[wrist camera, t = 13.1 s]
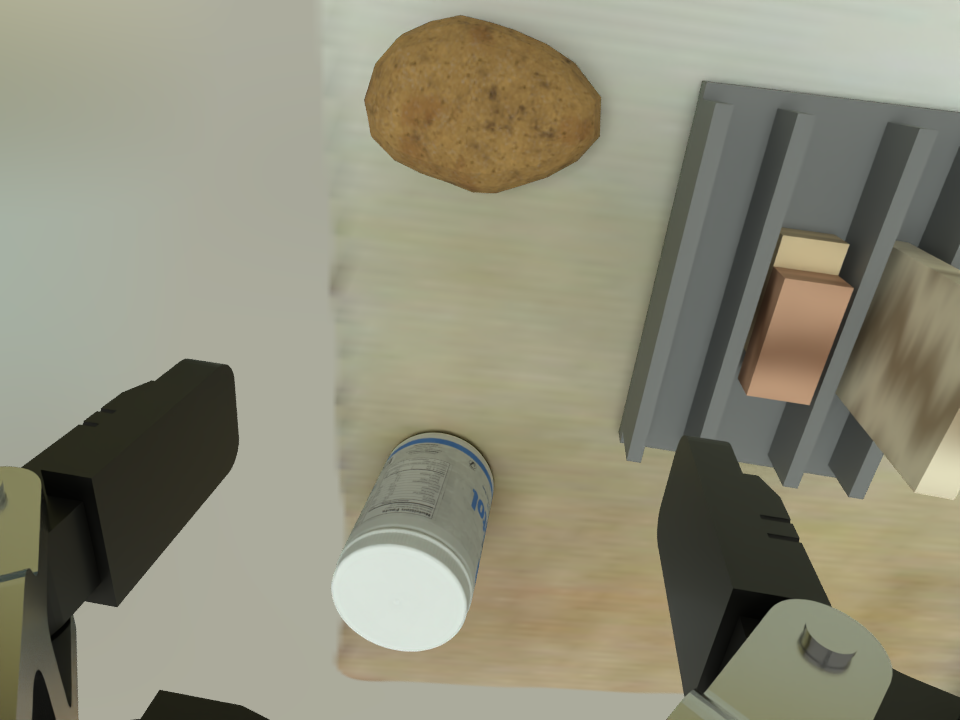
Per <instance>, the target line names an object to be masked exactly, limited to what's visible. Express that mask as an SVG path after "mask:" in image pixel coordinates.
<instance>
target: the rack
mask: <svg viewBox="0 0 960 720" xmlns="http://www.w3.org/2000/svg"><path fill="white" fill-rule="evenodd" d="M781 228H790V229H797V230H804V231H812V232H819V233H826V234H834V235H836V236H837V237H839V238H841V239H842V240H844V241H845V242H847V243H848V244H850V245H849V247H848V250H847V253H846V256H845V258H844V261H843V264H842V267H841V269H840V272H839V275H838V276H839V277H841V278H842V279H843V280H844V281H846V282H847V283H848V284H849V285H851V286H852V287H853V288H854V289H853V292H852V294H851V297H850V300H849V302H848V305H847V308H846V310H845V313H844V316H843V318H842V321H841V323H840V326H839V329H838V331H837V334H836V337H835V339H834V342H833V345H832V347H831V350H830V352H829V355H828V358H827V360H826V363H825V366H824V368H823V371H822V373H821V376H820V379H819V381H818V384H817V387H816V389H815V392H814V395H813V397H812V400H811V402H810V405H805V404H799V403H792V402H786V401H779V400H773V399H766V398H760V397H754V396H747V395H746V393H745V391H744V390H743V388H742V386H741V384H740V382H739V380H738V376H739V373H740V369H741V366H742V363H743V360H744V357H745V354H746V351H745V350H744V345H745V342H746V339H747V336H748V332H749V329H750V326H751V323H752V320H753V317H754V313H755V310H756V307H757V304H758V301H759V298H760V294H761V291H762V288H763V285H764V282H765V279H766V275H767V272H768V269H769V266H770V263H771V259H772V256H773V253H774V250H775V247H776V244H777V240H778V237H779V234H780V231H781ZM895 241H902V242H908V243H910V244H912V245H914V246H916V247H918V248H920V249H921V250H923V251H925V252H927V253H929V254H931V255H933V256H934V257H936V258H938V259H940V260H942V261H944V262H946V263H948V264H949V265H951V266H953V267H955V268H957V269H959V270H960V112H952V111H944V110H936V109H928V108H919V107H911V106H903V105H895V104H887V103H879V102H870V101H862V100H854V99H846V98H838V97H830V96H821V95H813V94H805V93H797V92H789V91H781V90H772V89H764V88H756V87H748V86H740V85H732V84H723V83H715V82H707V81H702V85H701V90H700V94H699V98H698V102H697V106H696V111H695V115H694V119H693V123H692V127H691V132H690V136H689V140H688V144H687V148H686V153H685V157H684V161H683V165H682V169H681V174H680V178H679V182H678V186H677V190H676V195H675V199H674V203H673V207H672V211H671V216H670V220H669V224H668V228H667V232H666V237H665V241H664V245H663V249H662V253H661V258H660V262H659V266H658V270H657V274H656V279H655V283H654V287H653V291H652V295H651V300H650V304H649V308H648V312H647V316H646V321H645V325H644V329H643V333H642V337H641V342H640V346H639V350H638V354H637V358H636V363H635V367H634V371H633V375H632V379H631V384H630V388H629V392H628V396H627V400H626V405H625V409H624V413H623V417H622V421H621V426H620V430H619V438H620V443H624V445H625V452H626V459H627V461H633V462H639V463H641V459H642V456H643V452H644V448H645V447H650V448H657V449H663V450H669V451H675V452H676V449H677V446H678V443H679V441H680V439H681V437H682V436H684V435H686V436H693V437H700V438H706V439H713V440H719V441H726V442H729V443H730V444H731V446H732V449H733V451H734V454H735V456H736V459H737V461H738V462H743V463H749V464H755V465H761V466H767V467H773V468H774V469H775V471H776V473H777V475H778V477H779V479H780V481H781V483H782V485H783V486H785V487H791V488H798V486H799V483H800V481H801V478H802V476H803V473H810V474H816V475H822V476H829V477H835V478H837V480H838V481H839V483H840V484H841V486H842V488H843V489H844V491H845V492H846V494H847V495H848V497H852V498H858V499H864V496H865V494H866V492H867V490H868V488H869V485H870V483H871V481H872V479H873V476H874V474H875V472H876V470H877V468H878V465H879V463H880V461H881V459H882V457H883V453H882V451H881V450H880V449H879V448H878V446H877V445H876V444H875V442H874V441H873V440H872V439H871V437H870V436H869V435H868V434H867V432H866V431H865V430H864V429H863V427H862V426H861V425H860V424H859V422H858V421H857V420H856V419H855V417H854V416H853V415H852V414H851V412H850V411H849V410H848V409H847V407H846V406H845V405H844V404H843V402H842V401H841V400H840V399H839V397H838V396H837V395H836V394H835V392H836V390H837V387H838V385H839V382H840V380H841V377H842V375H843V372H844V370H845V367H846V365H847V362H848V360H849V357H850V354H851V352H852V349H853V347H854V344H855V342H856V339H857V337H858V334H859V332H860V329H861V327H862V324H863V322H864V319H865V317H866V314H867V311H868V309H869V306H870V304H871V301H872V299H873V296H874V294H875V291H876V289H877V286H878V284H879V281H880V279H881V276H882V274H883V271H884V269H885V266H886V263H887V261H888V258H889V256H890V253H891V251H892V248H893V246H894V243H895Z"/></svg>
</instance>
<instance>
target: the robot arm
mask: <svg viewBox="0 0 960 720" xmlns="http://www.w3.org/2000/svg"><path fill="white" fill-rule="evenodd" d="M235 395H236V394H235V382H234V374H233V371H232V369H231V368H230V367H229V366H228V365H225V364H219V363H212V362H206V361H199V360H193V359H184V360H182V361H180V362H179V363H178V364H176V365H175V366H174V367H172V368H171V369H170V370H169V371H167V372H166V373H165V374H163V375H162V376H161V377H159V378H158V379H157V380H156V381H150V382H147V383H144V384H142V385H139V386H137V387H135V388H132V389H130V390H127V391H125V392H122V393H121V394H120V395H118V396H117V397H116V398H114V399H113V400H111V401H110V402H109V403H107V404H106V405H105V406H103V407H102V408H101V411H100V412H98V411H97V412H95V413H94V414H93V415H91V416H90V417H89V418H87V419H86V420H85V421H84V423H83V425H78V426H76V427H75V428H74V429H72V430H71V431H70V432H68V433H67V434H66V435H65V436H63V437H62V438H61V439H59V440H58V441H56V442H55V443H54V444H52V445H51V446H50V447H48V448H47V449H46V450H44V451H43V452H42V453H40V454H39V455H37V456H36V457H35V458H33V459H32V460H31V461H29V462H28V463H27V464H25V465H24V466H23V467H21V468H20V467H10V466H1V467H0V720H79V719H78V678H77V641H76V625H75V620H74V616H73V614H74V612H75V611H76V610H77V609H78V608H79V607H80V606H81V605H82V604H83V602H84V601H87V602H92V603H98V604H103V605H108V606H114V607H118V606H119V604H120V603H121V602H122V601H123V600H124V598H125V597H126V596H127V595H128V594H129V592H130V591H131V590H132V589H133V588H134V586H135V585H136V584H137V583H138V581H139V580H140V579H141V578H142V576H143V575H144V574H145V573H146V572H147V570H148V569H149V568H150V567H151V566H152V565H153V563H154V562H155V561H156V560H157V559H158V557H159V556H160V555H161V554H162V553H163V551H164V550H165V549H166V548H167V546H168V545H169V544H170V543H171V542H172V540H173V539H174V538H175V537H176V536H177V534H178V533H179V532H180V531H181V530H182V528H183V527H184V526H185V525H186V524H187V522H188V521H189V520H190V519H191V518H192V516H193V515H194V514H195V512H196V511H197V510H198V509H199V508H200V507H201V505H202V504H203V503H204V502H205V501H206V500H207V498H208V497H209V496H210V495H211V494H212V492H213V491H214V490H215V489H216V487H217V486H218V485H219V484H220V483H221V481H222V480H223V479H224V478H225V477H226V475H227V474H228V473H229V472H230V470H231V468H232V466H233V464H234V462H235V459H236V455H237V451H238V445H239V435H238V422H237V408H236V396H235ZM790 520H791V519H790V517H789V515H788V513H787V511H786V509H785V507H784V504H783V502H782V500H781V498H780V497H779V496H778V495H777V494H776V493H775V492H774V491H773V490H772V489H771V488H770V487H769V486H768V485H767V484H766V483H765V482H764V481H763V480H762V479H761V478H760V477H759V476H756V475H750V474H743V473H742V471H741V468H740V466H739V463H738V461H737V459H736V456H735V454H734V451H733V449H732V446H731V444H730V443H729V442H726V441H719V440H713V439H706V438H700V437H693V436H686V435H684V436H682V437H681V439H680V441H679V443H678V446H677V449H676V453H675V456H674V460H673V463H672V467H671V471H670V474H669V478H668V482H667V485H666V489H665V492H664V496H663V500H662V503H661V507H660V512H659V517H658V527H657V541H658V548H659V554H660V560H661V566H662V571H663V577H664V583H665V588H666V594H667V600H668V606H669V611H670V617H671V623H672V629H673V634H674V640H675V646H676V651H677V657H678V663H679V668H680V674H681V680H682V686H683V691H684V696H685V697H684V699H683V700H682V701H681V702H680V703H679V705H678V706H677V707H676V708H675V709H674V711H673V712H672V713H671V714H670V716H669V717H668V718H667V719H666V720H960V697H958V696H955V695H953V694H950V693H948V692H945V691H943V690H940V689H938V688H936V687H933V686H931V685H928V684H926V683H923V682H921V681H919V680H916V679H914V678H911V677H909V676H907V675H905V674H902V673H900V672H898V671H896V670H894V669H893V668H892V666H891V662H890V659H889V657H888V655H887V653H886V651H885V650H884V648H883V647H882V645H881V644H880V643H879V641H878V640H877V639H876V638H875V637H874V636H873V635H872V634H871V633H870V632H869V631H868V630H867V629H866V628H865V627H864V626H862V625H861V624H860V623H858V622H857V621H856V620H854V619H853V618H851V617H850V616H848V615H846V614H845V613H843V612H841V611H839V610H837V609H835V608H832V606H831V604H830V602H829V600H828V598H827V595H826V593H825V591H824V589H823V587H822V585H821V583H820V581H819V579H818V576H817V574H816V572H815V570H814V568H813V566H812V564H811V562H810V559H809V557H808V555H807V553H806V551H805V549H804V547H803V545H802V543H799V536H798V534H797V532H796V530H795V528H794V526H793V524H790ZM136 720H269V719H267V718H265V717H263V716H261V715H259V714H257V713H255V712H253V711H251V710H249V709H247V708H246V707H243V706H241V705H236V704H231V703H225V702H220V701H214V700H210V699H205V698H199V697H194V696H189V695H184V694H179V693H173V692H168V691H163V690H159V692H158V693H157V695H156V696H155V698H154V699H153V701H152V702H151V704H150V705H149V707H148V708H147V710H146V711H145V713H144V714H143V716H142V717H141V719H136Z"/></svg>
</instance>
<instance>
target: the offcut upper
mask: <svg viewBox="0 0 960 720" xmlns="http://www.w3.org/2000/svg"><path fill="white" fill-rule="evenodd" d="M853 289H854V288H853V287H852V286H851V285H849V284H848V283H847V282H846V281H844V280H843V279H842V278H841V277H839V276H838V275H831V274H824V273H817V272H810V271H803V270H796V269H789V268H782V267H775V266H773V269H772V272H771V275H770V278H769V281H768V285H767V288H766V291H765V294H764V297H763V300H762V303H761V307H760V310H759V313H758V316H757V319H756V322H755V325H754V329H753V332H752V335H751V338H750V341H749V344H748V347H747V351H746V354H745V357H744V360H743V363H742V366H741V369H740V373H739V376H738V380H739V382H740V384H741V386H742V388H743V390H744V391H745V393H746V395H747V396H754V397H760V398H766V399H773V400H779V401H786V402H792V403H799V404H805V405H810V402H811V400H812V397H813V395H814V392H815V389H816V387H817V384H818V381H819V379H820V376H821V373H822V371H823V368H824V366H825V363H826V360H827V358H828V355H829V352H830V350H831V347H832V345H833V342H834V339H835V337H836V334H837V331H838V329H839V326H840V323H841V321H842V318H843V316H844V313H845V310H846V308H847V305H848V302H849V300H850V297H851V294H852V292H853Z"/></svg>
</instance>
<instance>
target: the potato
mask: <svg viewBox="0 0 960 720" xmlns="http://www.w3.org/2000/svg"><path fill="white" fill-rule="evenodd" d="M364 101H365V106H366V111H367V116H368V121H369V127H370V133H371V136H372V138H373V139H374V140H375V141H376V142H377V143H378V144H379V145H380V146H381V147H382V148H383V149H384V150H385V151H386V152H387V153H388V154H389V155H390V156H391V157H392V158H393V159H394V160H395V161H397V162H399V163H401V164H403V165H406V166H408V167H410V168H412V169H414V170H416V171H418V172H420V173H422V174H425V175H428V176H431V177H434V178H437V179H440V180H442V181H445V182H448V183H451V184H453V185H456V186H458V187H461V188H463V189H466V190H468V191H471V192H479V193H498V192H501V191H504V190H508V189H511V188H514V187H518V186H521V185H524V184H527V183H530V182H533V181H537V180H540V179H543V178H546V177H548V176H550V175H552V174H554V173H556V172H558V171H559V170H561V169H563V168H565V167H567V166H569V165H571V164H572V163H574V162H576V161H578V159H579V158H580V157H581V156H582V155H583V154H584V153H585V152H586V151H587V150H588V149H589V147H590V146H591V145H592V144H593V143H594V142H595V141H596V140H597V139H598V138H599V137H600V113H601V97H600V95H599V94H598V93H597V91H596V90H595V89H594V87H593V86H592V85H591V84H590V82H589V81H588V80H587V78H586V77H585V76H584V74H583V73H582V72H581V70H580V69H579V68H578V66H577V65H576V64H575V63H574V62H573V61H571V60H570V59H568V58H567V57H565V56H564V55H562V54H561V53H559V52H558V51H556V50H555V49H553V48H552V47H550V46H549V45H547V44H545V43H543V42H540V41H538V40H536V39H534V38H531V37H529V36H527V35H524V34H522V33H520V32H518V31H515V30H513V29H510V28H507V27H503V26H500V25H497V24H494V23H491V22H487V21H483V20H479V19H474V18H470V17H466V16H462V15H459V16H455V17H450V18H445V19H440V20H436V21H431V22H429V23H426V24H424V25H422V26H420V27H417V28H415V29H413V30H411V31H408V32H406V33H404V34H402V35H401V36H400V37H399V38H397V39H396V41H395V42H394V43H393V44H392V45H391V46H390V48H389V49H388V50H387V51H386V52H385V53H384V54H383V56H382V57H381V58H380V59H379V60H378V61H377V63H376V64H375V67H374V70H373V73H372V76H371V80H370V83H369V86H368V90H367V93H366V96H365V99H364Z"/></svg>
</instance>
